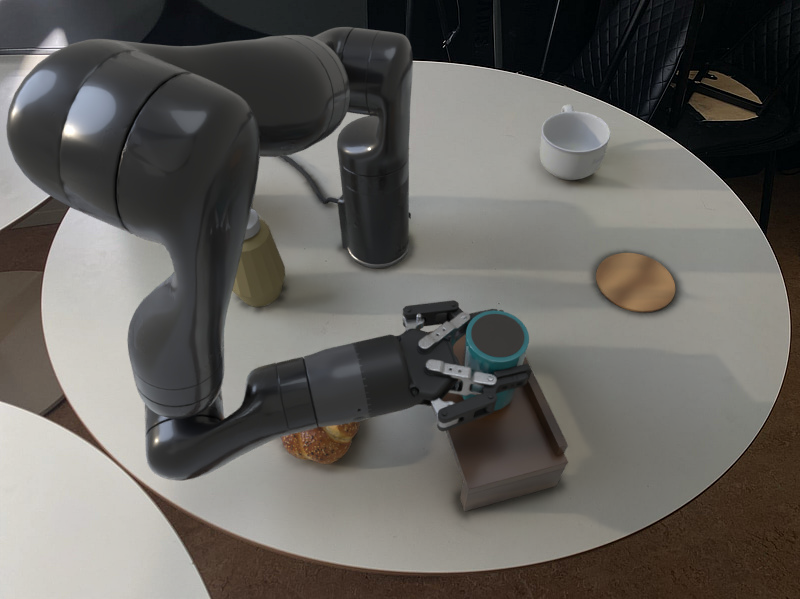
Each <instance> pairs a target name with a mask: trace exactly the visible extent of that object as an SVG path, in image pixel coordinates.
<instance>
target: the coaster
mask: <svg viewBox="0 0 800 599" xmlns="http://www.w3.org/2000/svg"><path fill="white" fill-rule="evenodd" d="M595 281H596V284H597V287H598V289H599V291H600V293H601V294H602V295H603V296H604V297H605V298H606V299H607V300H608V301H609V302H611V303H612V304H613V305H616V306H617V307H619V308H621V309H624V310H627V311H630V312H636V313H652V312H653V313H654V312H658V311H660V310H662V309H664V308H666V307H667V306H668V305H669V304H670V303H671V302H672V300H673V299H674V296H675V293H676V283H675V280H674V278H673V276H672V274H671V273H670V271H669V270H668V269H667V268H666V267H665V266H664V265H663V264H661V263H660V262H659V261H657V260H655V259H654V258H651V257H649V256H647V255H644V254H640V253H636V252H635V253H634V252H620V253H614V254H611V255H610V256H607V257H605V259H603V260H602V261H601V262H600V263H599V265H598V267H597V269H596V273H595Z"/></svg>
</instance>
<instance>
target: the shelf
mask: <svg viewBox="0 0 800 599" xmlns="http://www.w3.org/2000/svg"><path fill="white" fill-rule="evenodd" d="M433 331H434V330H430V331H428V332H429V333H432V332H433ZM465 336H466V334H465V335H464V336H463V337H462V338H460V339H459V340H458V341H457V342H456V343H455V344H454V346H453V353H454V355H455V356H456V357H457V358H458V360H459V363H460V365H461V364H462V357H463V350H464V343H465ZM523 364H529V366H530V368H531V370H532V372H531V376H530V378H529V379H528V380H527V382H526V384H525V385H524V386H522V387H519V388H516V389H515V392H514V396H513V398H512V400H511V401H510V402H509V404H508V405H506V406H505V407H503V408H501V409H499V410H496V411H494V412H493V413H492V414H490V415H487V416H484V417H482V418H479V419H476V420H474V421H471V422H468V423H466V424H463V425H460V426H458V427H455V428H452V429H450V430H447V431H445V433H446V436H447V439H448V441H449V444H450V447H451V450H452V454H453V456H454V458H455V462H456V464H457V468H458V471H459V473H460V476H461V479H462V485H461V491H460V496H459V500H460V503H461V506H462V509H463V512H467V511H471V510H475V509H478V508H482V507H485V506H489V505H492V504H497V503H500V502H504V501H507V500H510V499H514V498H518V497H521V496H525V495H529V494H532V493H536V492H540V491H543V490H546V489H550V488H554V487H556V486H557V485H558V483H559V481H560V479H561V478H562V475H563V473H564V471H565V470H566V467H567V465H568V463H569V460H568V459H567V456H566V454H565V453H566V452H567V449H568V447H569V444H568V442H567V439H566V437H565V436H564V434H563V431H562V430H561V427H560V425H559V423H558V421H557V418H556V417H555V414H554V413H553V411H552V408H551V406H550V404H549V402H548V400H547V398H546V396H545V394H544V392H543V390H542V388H541V386H540V384H539V382H538V381H539V380H538V379H537V377H536V374H535V373H534V371H533V369H532V366H531V365H530V363H529V361H528V357H527V356H526V355H525V358H524V361H523ZM458 381H459V379H458ZM463 400H464V399H463V397H462V396H461V395H459V394H454V393H447V394H446V395H445V397H444V398H443V399H442V401H444V402H448V401H453V402H454V403H458V402H460V401H463Z"/></svg>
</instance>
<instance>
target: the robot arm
mask: <svg viewBox="0 0 800 599" xmlns="http://www.w3.org/2000/svg"><path fill="white" fill-rule="evenodd" d="M412 49H413V48H412V45H411V42H410V40H409V38H408V37H407V36H406V35H404V34H403V33H400V32H399V33H398V32H394V31H393V32H392V31H384V30H378V29H377V30H375V29H368V28H360V27H352V26H340V27H333V28H329V29H327V30H325V31H323V32H319V33H318V34H316V35H314V36H309V35H306V34H305V35H304V34H284V35H283V34H282V35H272V36H265V37H260V38H255V39H245V40H232V41H225V42H216V43H210V44H209V43H208V44H201V45H186V46H185V45H182V46H180V45H164V44H163V45H162V44H154V43H145V42H134V41H124V40H117V39H107V38H92V39H85V40H82V41H78V42H74V43H70V44H68V45H66V46H64V47H62V48H60V49H57V50H56V51H54V52H52V53H51V54H48V56H46V57H45V58H43V59H42V60H41V61H40V62H38V63H37V64H36V65H35V66H34V67H33V68H32V69H31V70H30V71H29V72H28V73H27V75H25V77H24V78H23V80H22V81H21V83H20V84H19V86H18V87H17V89H16V90H15V92H14V94H13V97H12V100H11V102H10V104H9V107H8V110H7V117H6V126H5V127H6V129H5V130H6V140H7V144H8V147H9V150H10V153H11V155H12V157H13V160H14V162H15V163H16V165H17V166H18V168H19V169H20V171H21V172H22V173H23V175H24V176H25V178H27V179H28V180H29V181H30V182H31V183H32V184H33V185H35V186H36V187H37V188H39V189H40V190H41V191H42V192H43V193H45V194H47V195H48V196H50V197H52V198H53V199H55V200H56V201H59V202H60V203H62V204H63V205H64V206H67V207H68V208H71V209H72V210H75V211H77V212H80V213H82V214H84V215H87V216H89V217H92V218H94V219H96V220H98V221H100V222H103V223H106V224H108V225H110V226H112V227H115V228H117V229H119V230H122V231H124V232H126V233H128V234H130V235H134V236H136V237H137V238H138V237H139V238H140V239H143V240H146V241H149V242H153V243H157V244H160V245H162V246H163V247H164V248H165V249H166V251H167V253H168V254H169V258H170V259H171V262H172V266H173V273H171V275H170V276H168V277H167V278H166V279H165V280H164V281H162V282H161V283H160V284H158V285H157V286H156V287H155V288H154V289H153V290H152V291H151V292H149V293H148V295H146V297H144V298H143V299H142V300H141V301H140V303H139V304H138V306H137V307H136V309H135V310H134V313H133V314H132V316H131V319H130V320H129V326H128V329H127V330H128V331H127V337H126V338H127V339H126V341H127V343H126V344H127V351H128V357H129V362H130V366H131V371H132V376H133V380H134V385H135V387H136V390H137V392H138V396H139V397H140V399H141V400H142V402H143V404H144V434H145V435H144V436H145V439H144V440H145V446H144V447H145V458H146V463H147V466H148V468H149V469H150V470H151V472H153V473H154V474H155V475H156V476H159V477H161V478H162V479H166V480H169V481H190V480H195V479H198V478H201V477H204V476H207V475H209V474H211V473H213V472H214V471H216V470H219V469H220V468H222V467H224V466H226V465H227V464H230V463H231V462H232V461H235V460H236V459H238V458H240V457H241V456H244V455H245V454H248V453H249V452H252V451H253V450H255V449H257V448H259V447H261V446H264V445H266V444H268V443H270V442H272V441H274V440H276V439H280V438H281V437H283V436H287V435H291V434H295V433H299V432H303V431H308V430H312V429H316V428H318V426H319V427H325V426H334V425H342V424H347V423H351V422H359V421H360V422H362V421H364V420H368V419H372V418H377V417H380V416H384V415H387V414H392V413H396V412H401V411H404V410H408V409H410V408H413V407H416V406H418V405H419V406H421V405H422V406H427V407H431V410H432V411H433V414H434V416H435V418H436V428H437V430H439V431H440V432H446V431H447V430H450V429H452V428H455V427H458V426H460V425H463V424H466V423H468V422H471V421H474V420H476V419H479V418H482V417H484V416H487V415H490V414H492V413H493V412H494V409H495V405H496V401H497V395H496V394H497V393H499V392H503V391H507V390H511V389H515V388H519V387H522V386H524V385H525V384H526V382H527V380H528V379H529V378H530V376H531V372H532V371H533V369H532V367H531V365H530V363H529V364H523V365H519V366H515V367H511V368H508V369H502V370H498V371H494V375H493V374H489V373H483V372H477V371H474V370H473V369H472V368H470V367H465V366H461V365H460V363H459V360H458V358H457V357H456V356H455V355H454V353H453V346H454V344H455V343H456V342H457V341H458V340H459V339H460V338H462V337H463V336H464V335H465V334H466V330H467V326H468V324H469V323H470V321H471V320H472V319H473V318H474V317H475V316H477V315H478V314H480V313H483V312H486V311H503V312H505V311H504V310H502V309H500V310H498V309H497V308H489V309H485V310H480V311H476V312H472V313H468V312H466V311H464V310H463V309H462V308H461V307H460V304H459V302H458V301H456V300H453V299H452V300H444V301H437V302H428V303H420V304H411V305H405V306H404V307H403V309H402V326H403V327H404V329H405V331H404V332H403V333H401V334H399V335H394V334H386V335H382V336H377V337H373V338H369V339H364V340H359V341H355V342H351V343H346V344H342V345H337V346H333V347H329V348H325V349H322V350H319V351H317V352H314V353H311V354H308V355H304V356H301V357H295V358H291V359H287V360H282V361H278V362H273V363H268V364H265V365H261V366H258V367H256V368H253V369H251V371H250V372H249V373H248V375H247V378H246V381H245V386H244V394H243V399H242V402H241V404H240V406H239V407H238V408H237V409H236V410H235V411H233V412H232V413H230V414H229V415H228V416H227V417H225V410H224V400H223V399H224V398H223V391H222V387H223V383H224V378H225V327H226V321H227V320H226V319H227V314H228V309H229V306H230V301H231V298H232V293H233V291H232V290H233V286H234V282H235V278H236V274H237V270H238V266H239V262H240V257H241V253H242V248H243V244H244V239H245V234H246V230H247V226H248V221H249V217H250V212H251V208H252V207H253V202H254V198H255V193H256V188H257V182H258V176H259V175H258V174H259V167H260V157H263V158H265V157H266V158H275V157H280V158H281V159H283V160H284V161H285V162H287V163H289V164H290V165H291V166H292V167H294V168H295V169H296V170H297V171H298V172H299V173H301V175H302V176H304V178H305V179H306V180H307V182H308V183H309V184H310V186H311V188H312V190H313V191H314V193H315V195H316V196H317V198H318V199H319V200H320V201H321V202H322V203H323V204H329V203H333V204H337V210H338V218H339V226H340V235H341V243H342V249H345V250H347V252H348V255H349V256H350V257H351V258H352V260H353V261H355V263H357V264H359V265H361V266H363V267H367V268H371V269H383V268H388V267H392V266H395V265H397V264H398V263H400V262H401V261H402V260H404V258H406V256H407V255H408V252H409V250H410V236H409V233H410V232H409V228H410V220H411V219H412V217H411V216H412V213H411V212H410V130H411V103H412V102H411V101H412V87H413V71H414V58H413V57H414V56H413V50H412ZM347 113H349V114H357V115H362V117H359V118H356V119H355V120H352V121H350V122H349V123H348V124H345V126H344V127H343V128H342V129H341V130H340V131H339V134H338V136H337V140H336V149H337V157H338V165H339V175H340V176H339V177H340V184H341V194H342V195H341V196H340V197H339V198H336V197H330V196H329V197H327V198H326V197H325V196H324V195H323V194H322V192H321V191H320V189H319V187H318V186H317V184H316V182H315V181H314V179H313V178H312V177H311V175H310V174H309V173H308V172H307V171H306V170H305V169H304V168H303V167H302V166H301V165H300V164H299V163H297V162H296V161H295V160H293V158H291V157H289V156H291V155H295V154H297V153H300V152H303V151H305V150H307V149H309V148H310V147H312V146H314V145H316V144H318V143H320V142H322V141H323V140H325V139H327V138H328V137H329V136H330V135H332V134H334V132H335V131H336V130H337V129H338V128H339V127H340V125H341V124H342V123H343V121H344V119H345V118H346V116H347ZM363 115H364V116H363ZM252 209H253V208H252ZM438 325H439V326H438ZM431 326H432V327H433V326H438V327H437V328H436V329H434V330H432V331H433V332H432V333H429V332H430V331H425V330H422V329H423V328H424V327H431ZM529 365H530V366H529ZM530 367H531V368H530ZM531 369H532V370H531ZM458 379H460V380H462V381H458ZM447 393H454V394H459V395H465V396H467V395H469V394H473V395H477V396H474V397H471V398H469V399H466V400H463V401H460V402H458V403H454V402H453V401H448V402H444V401H442V399H443V398H444V397H445V395H446V394H447ZM360 422H359V423H360Z"/></svg>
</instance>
